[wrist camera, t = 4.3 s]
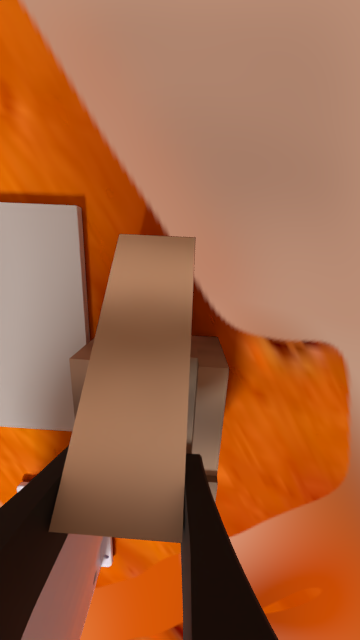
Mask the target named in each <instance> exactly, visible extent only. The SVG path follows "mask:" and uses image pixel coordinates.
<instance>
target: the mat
mask: <svg viewBox="0 0 360 640" xmlns="http://www.w3.org/2000/svg"><path fill="white" fill-rule="evenodd" d="M89 342H90V333H89V318H88V302H87V287H86V271H85V256H84V240H83V225H82V209H81V207H79V206H77V205H53V204H29V203H6V202H0V426H3V427H17V428H31V429H46V430H60V431H73V427H74V423H75V416H74V406H73V395H72V384H71V373H70V363H69V358H71V357H72V356H73V355H74V354H75V353H77V352H78V351H79V350H80V349H81V348H83V347H84V346H85V345H86V344H88V343H89Z"/></svg>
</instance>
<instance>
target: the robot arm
mask: <svg viewBox="0 0 360 640" xmlns="http://www.w3.org/2000/svg"><path fill="white" fill-rule="evenodd" d="M68 448H69V446H68V447H67V448H66V449H65V450H63V451H62V452H61V453H60V454H59V455H58V456H57V457H56V458H55V459H54V460H53V461H52V462H51V463H50V464H48V465H47V466H46V467H45V468H44V469H43V470H42V471H41V472H40V473H39V474H38V475H37V476H36V477H34V478H33V479H32V480H31V481H30V482H21V483H20V484H19V485H18V487H17V494H16V495H14V496H13V497H12V498H11V499H10V500H9V501H8V502H6V503H5V504H4V505H3V506H2V507H1V508H0V640H80V637H81V634H82V630H83V627H84V623H85V620H86V616H87V612H88V609H89V606H90V602H91V599H92V596H93V592H94V589H95V585H96V582H97V578H98V575H99V571H100V568H101V567H110V566H111V565H112V562H113V548H112V537H105V536H93V535H81V534H69V533H57V532H49V528H50V524H51V519H52V515H53V511H54V507H55V503H56V498H57V494H58V490H59V486H60V482H61V477H62V473H63V469H64V465H65V461H66V456H67V452H68ZM181 562H182V593H183V640H278V638H277V636H276V634H275V633H274V631H273V629H272V627H271V625H270V623H269V622H268V619H267V617H266V615H265V613H264V612H263V610H262V608H261V606H260V604H259V602H258V600H257V598H256V596H255V594H254V592H253V590H252V588H251V586H250V583H249V581H248V579H247V577H246V575H245V573H244V571H243V569H242V567H241V564H240V563H239V560H238V558H237V556H236V553H235V551H234V549H233V547H232V544H231V542H230V539H229V537H228V535H227V532H226V530H225V527H224V525H223V522H222V520H221V517H220V515H219V512H218V509H217V507H216V504H215V501H214V498H213V496H212V493H211V490H210V487H209V483H208V480H207V477H206V473H205V470H204V465H203V461H202V457H201V455H200V454H190V453H186V463H185V486H184V509H183V531H182V543H181Z"/></svg>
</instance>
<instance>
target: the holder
mask: <svg viewBox="0 0 360 640" xmlns="http://www.w3.org/2000/svg"><path fill="white" fill-rule="evenodd" d="M94 339H95V338H94ZM94 339H92V340H91V341H90V342H89V343H88V344H86V345H85V346H84V347H83V348H81V349H80V350H79V351H78V352H77V353H75V354H74V355H73V356H72V357H71V358H69V363H70V373H71V384H72V395H73V406H74V416H75V419H76V414H77V410H78V406H79V402H80V398H81V393H82V389H83V385H84V381H85V377H86V372H87V368H88V364H89V360H90V356H91V351H92V347H93V343H94ZM228 375H229V367H228V364H227V361H226V358H225V356H224V353H223V350H222V347H221V345H220V342H219V339H218V337H208V336H191V350H190V373H189V396H188V418H187V441H186V453H190V454H200V455H201V457H202V461H203V465H204V470H205V473H206V477H207V480H208V483H209V487H210V490H211V493H212V496H213V498H214V501H215V500H216V492H217V483H218V482H217V469H218V461H219V452H220V443H221V435H222V426H223V418H224V409H225V400H226V392H227V383H228Z"/></svg>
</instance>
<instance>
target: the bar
mask: <svg viewBox="0 0 360 640" xmlns="http://www.w3.org/2000/svg"><path fill="white" fill-rule="evenodd" d="M194 260H195V237H175V236H153V235H131V234H119V238H118V242H117V246H116V251H115V255H114V259H113V263H112V267H111V272H110V276H109V280H108V284H107V288H106V293H105V297H104V301H103V305H102V309H101V314H100V318H99V322H98V326H97V330H96V335H95V339H94V343H93V347H92V351H91V356H90V360H89V364H88V368H87V372H86V377H85V381H84V385H83V389H82V393H81V398H80V402H79V406H78V410H77V414H76V419H75V423H74V427H73V431H72V435H71V440H70V444H69V448H68V452H67V456H66V461H65V465H64V469H63V473H62V477H61V482H60V486H59V490H58V494H57V498H56V503H55V507H54V511H53V515H52V519H51V524H50V528H49V532H57V533H69V534H81V535H93V536H105V537H117V538H129V539H140V540H152V541H164V542H176V543H182V531H183V509H184V486H185V463H186V441H187V418H188V396H189V373H190V350H191V328H192V305H193V283H194Z"/></svg>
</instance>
